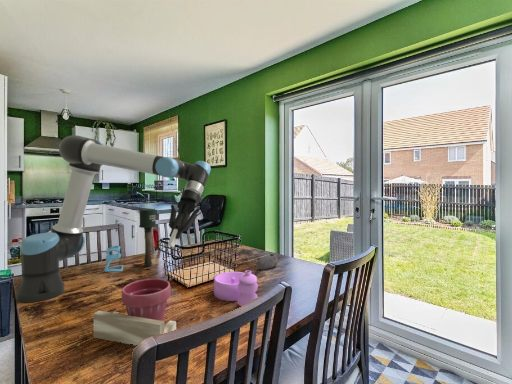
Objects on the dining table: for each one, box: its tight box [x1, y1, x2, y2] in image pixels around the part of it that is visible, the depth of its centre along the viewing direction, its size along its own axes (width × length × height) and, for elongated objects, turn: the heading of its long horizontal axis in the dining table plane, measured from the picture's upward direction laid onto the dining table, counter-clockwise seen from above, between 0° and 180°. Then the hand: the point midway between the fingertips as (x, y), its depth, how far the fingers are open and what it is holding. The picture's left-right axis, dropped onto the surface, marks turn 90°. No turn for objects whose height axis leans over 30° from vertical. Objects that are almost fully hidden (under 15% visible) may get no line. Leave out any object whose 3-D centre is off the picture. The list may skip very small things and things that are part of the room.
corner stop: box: [92, 310, 177, 347], centre depth 82 cm, size 8×22×7 cm, turn 75°
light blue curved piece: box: [103, 245, 124, 273], centre depth 141 cm, size 8×8×12 cm
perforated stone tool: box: [256, 252, 279, 271], centre depth 147 cm, size 15×5×7 cm, turn 132°
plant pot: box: [121, 278, 171, 321], centre depth 88 cm, size 14×14×13 cm
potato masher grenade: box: [138, 208, 157, 268], centre depth 148 cm, size 8×9×30 cm
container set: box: [213, 269, 259, 306], centre depth 110 cm, size 25×15×13 cm, turn 28°
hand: (170, 245), depth 106 cm, fingers closed
